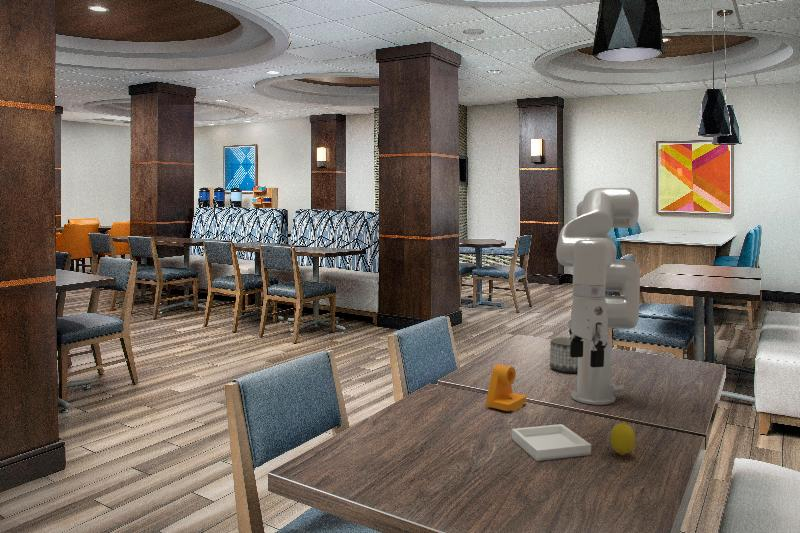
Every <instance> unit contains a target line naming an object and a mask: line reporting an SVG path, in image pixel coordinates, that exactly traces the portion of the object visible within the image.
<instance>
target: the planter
mask: <svg viewBox="0 0 800 533" xmlns="http://www.w3.org/2000/svg"><path fill="white" fill-rule="evenodd" d="M570 347H571V341H570V336H558V337H552V338H551V339H550V349H549V350H550V351H549V367H550V368H551V369H553V370H555V371H558V370H559V371H558V372H561V371H564V372H563V373H566V372H576V373H578V357H575V358H572V357H570Z"/></svg>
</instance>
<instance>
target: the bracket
mask: <svg viewBox="0 0 800 533" xmlns="http://www.w3.org/2000/svg"><path fill="white" fill-rule="evenodd" d="M515 379H516V369H515V367H514V366H511V365H504V364H499V363H497V364H496V365H494V367H493V368H492V371H491V377H490V381H489V384H488V385H489V386H488V391H487V395H486V407H489V408H491V409H492V408H493V409H498V410H500V411H504V412H515V411H517V410H519V409H521V408H523V407H524V405H525V404H526V403H527V396H526V395H525V394H520V393H517V392H513V388H512V385H513V384H514V382H515Z"/></svg>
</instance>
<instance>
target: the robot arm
mask: <svg viewBox="0 0 800 533" xmlns="http://www.w3.org/2000/svg"><path fill="white" fill-rule="evenodd" d="M639 210H640V206H639V197H638V195H637V193H636V191H634V190H633V189H632V188H630V187H597V188H593V189H590V190H589V191H588V192H587V193H585V195H584V198H583V200H582V201H580V202H579V203H578V204H577V206H576V210H575V211H576V217H575V218H574V219H571V220H570V221H569V222H567V223H566V224H564V225H563V227H562V228H561V230H560V233H559V235H558V241H557V245H556V253H555V254H556V260H557V261H558V263H559V265H561V266H564V267H567V268H569V267H570V268H572V270H573V271H572V298H573V299H572V302H571V303H572V306H571V313H570V319H569V320H568V323H567V324H568V328H569V329H568V332H569V337H570V341H571V347H570V357H572V358H575V357H578V372H577V378H576V379H577V381H576V382H577V384H576V389H574V390H573V391H572V392H571V398H572V399H573V400H575V401H577V402H578V403H583V404H586V405H595V406H598V405H599V406H602V405H603V406H605V405H610V404H613V403H614V402H615V401H616V395H614V394H616V393H620V392H621V393H622V392H625V390H626V388H625V386H624V385H623V384H619V385H616V383H611V375H612V351H613V350H612V348H613V345H612V340H611V338H610V334H609V329H622V330H623V329H624V330H625V329H627V330H631V329H635V327H636V326H638V323H639V316H640V291H641V290H640V288H641V274H640V268H639V265H638V264H637V263H636V262H635V261H633V260H630V259H617V255H618V254H617V253H618V250H617V248H618V247H617V245H616V244H615V242H614V241H613V238H611V236H610V234H609V233H610V232H611V230H612V229H631V228H633V227H635V226H636V225H637V222H638V220H639V215H640V214H639V212H640V211H639ZM606 292H619V293H621V294H622V295H609V294H606Z"/></svg>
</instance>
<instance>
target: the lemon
mask: <svg viewBox="0 0 800 533" xmlns="http://www.w3.org/2000/svg"><path fill="white" fill-rule="evenodd" d="M609 438H610V440H609V441H610V445H611V447H612V449H613V450H614V451H615V452H616V453H618V454H619V455H620V456H625V454H628V453H631V452H632V450H634V448H635V445H636V435H635V431H634V429H633V427H632V426H630V425H628V424H627V423H625V422H624V421H622V422H621V423H617V424H616V425H614V426H613V427H612V430H611V432H610V437H609Z"/></svg>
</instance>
